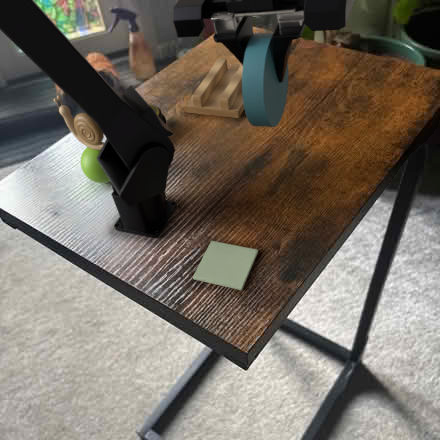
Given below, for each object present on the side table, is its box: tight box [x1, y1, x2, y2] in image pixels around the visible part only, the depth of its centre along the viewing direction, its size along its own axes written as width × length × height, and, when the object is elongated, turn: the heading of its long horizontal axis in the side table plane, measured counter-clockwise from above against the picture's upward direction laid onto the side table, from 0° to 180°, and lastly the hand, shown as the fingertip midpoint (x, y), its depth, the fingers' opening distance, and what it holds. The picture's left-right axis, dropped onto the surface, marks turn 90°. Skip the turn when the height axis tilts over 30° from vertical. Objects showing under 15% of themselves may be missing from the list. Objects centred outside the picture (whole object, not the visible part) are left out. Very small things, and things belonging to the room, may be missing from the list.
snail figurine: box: [53, 94, 111, 184], centre depth 62 cm, size 5×6×12 cm
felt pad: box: [192, 240, 259, 291], centre depth 54 cm, size 6×6×1 cm
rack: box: [185, 57, 245, 119], centre depth 75 cm, size 12×9×3 cm
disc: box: [242, 31, 289, 128], centre depth 54 cm, size 10×2×10 cm
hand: (270, 80), depth 55 cm, fingers closed on disc, 2 cm apart
